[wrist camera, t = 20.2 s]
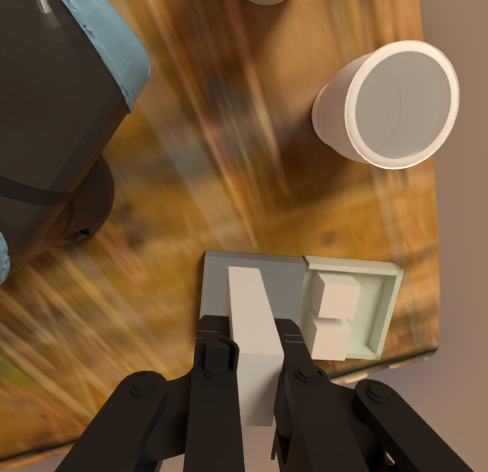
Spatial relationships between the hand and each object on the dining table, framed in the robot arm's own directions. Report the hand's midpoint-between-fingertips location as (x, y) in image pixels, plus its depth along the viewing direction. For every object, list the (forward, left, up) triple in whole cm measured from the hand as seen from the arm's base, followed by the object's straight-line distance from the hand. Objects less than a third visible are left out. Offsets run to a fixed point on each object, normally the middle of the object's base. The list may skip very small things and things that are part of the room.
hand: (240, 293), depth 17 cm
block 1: (+16, -13, -30) cm, 36 cm away
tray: (+19, -16, -30) cm, 39 cm away
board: (+5, -16, -30) cm, 35 cm away
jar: (+14, +11, -31) cm, 35 cm away
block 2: (+17, -20, -30) cm, 39 cm away
